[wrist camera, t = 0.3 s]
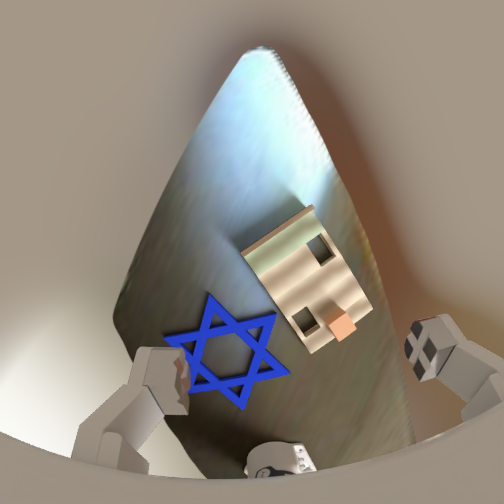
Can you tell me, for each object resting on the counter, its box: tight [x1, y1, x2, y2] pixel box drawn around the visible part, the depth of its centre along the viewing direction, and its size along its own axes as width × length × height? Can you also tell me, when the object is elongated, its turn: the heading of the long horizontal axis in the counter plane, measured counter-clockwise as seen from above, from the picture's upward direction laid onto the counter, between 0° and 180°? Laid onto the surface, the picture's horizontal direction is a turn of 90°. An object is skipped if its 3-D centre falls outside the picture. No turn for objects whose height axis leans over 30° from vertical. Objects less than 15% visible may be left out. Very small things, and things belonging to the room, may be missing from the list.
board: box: [241, 204, 373, 354], centre depth 60 cm, size 27×17×6 cm, turn 34°
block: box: [323, 308, 356, 341], centre depth 58 cm, size 4×4×4 cm
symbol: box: [164, 294, 291, 411], centre depth 63 cm, size 26×2×30 cm
